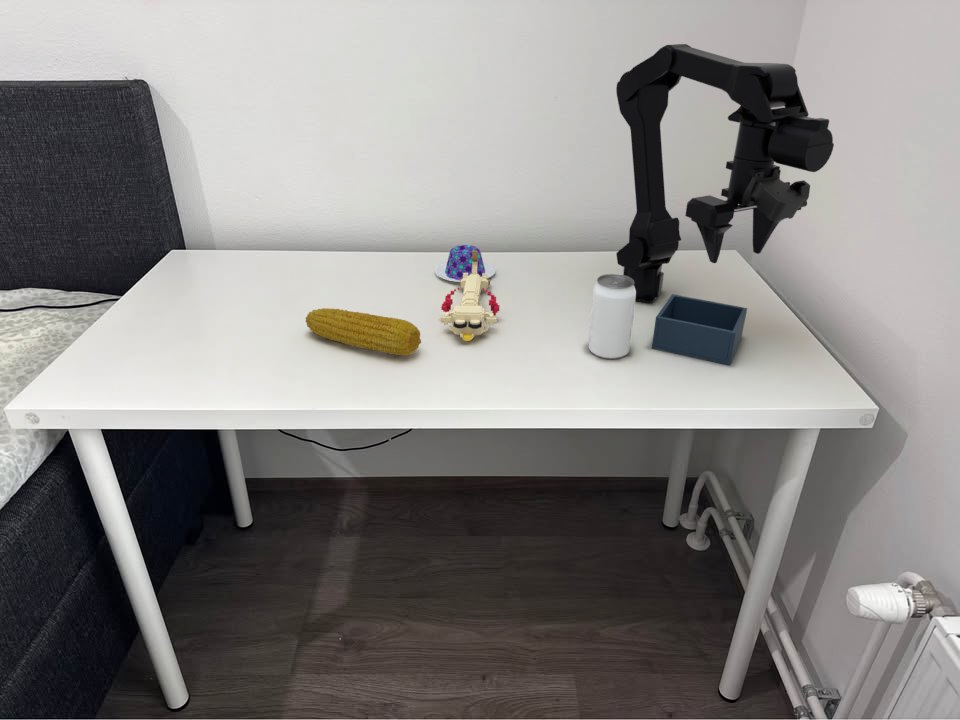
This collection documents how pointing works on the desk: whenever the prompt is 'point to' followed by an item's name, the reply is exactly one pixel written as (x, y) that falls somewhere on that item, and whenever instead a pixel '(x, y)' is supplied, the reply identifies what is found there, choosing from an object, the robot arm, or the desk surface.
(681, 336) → the bin
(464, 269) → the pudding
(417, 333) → the food
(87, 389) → the desk surface
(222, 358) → the desk surface
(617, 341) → the can
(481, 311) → the cream brick animal figure
